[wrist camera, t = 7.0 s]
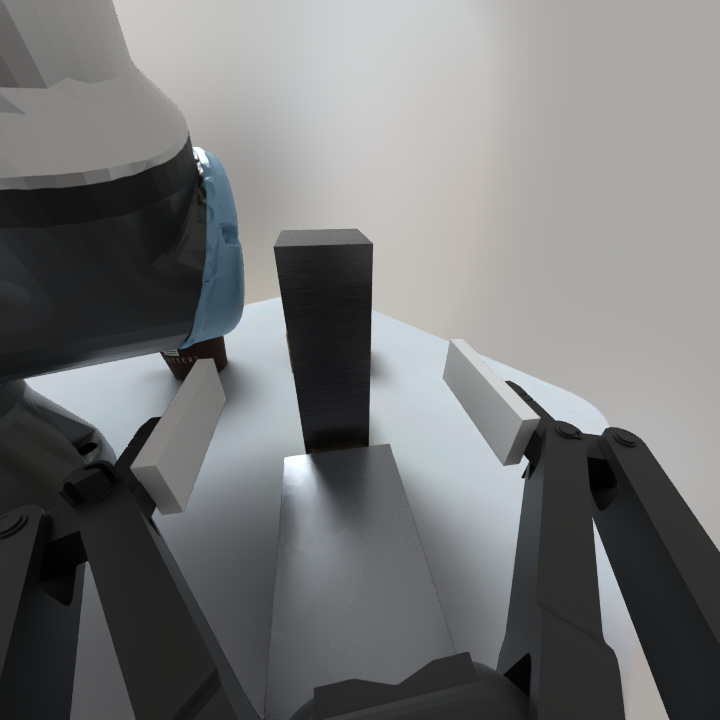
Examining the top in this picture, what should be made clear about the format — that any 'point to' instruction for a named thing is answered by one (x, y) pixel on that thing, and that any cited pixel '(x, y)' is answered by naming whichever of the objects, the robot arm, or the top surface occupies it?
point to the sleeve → (348, 580)
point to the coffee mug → (196, 356)
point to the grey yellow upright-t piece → (328, 332)
